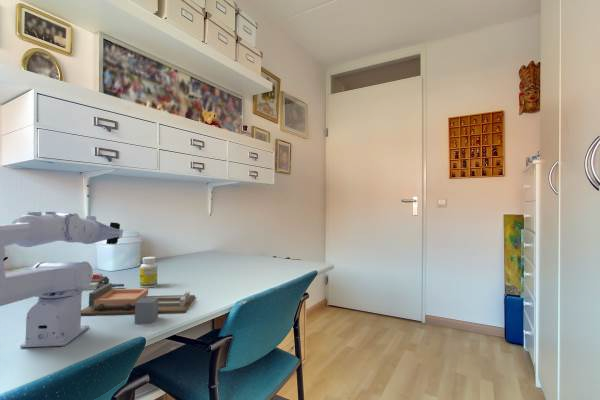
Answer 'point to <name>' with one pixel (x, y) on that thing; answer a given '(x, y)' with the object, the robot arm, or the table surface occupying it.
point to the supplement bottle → (148, 273)
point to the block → (146, 310)
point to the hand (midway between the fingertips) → (103, 233)
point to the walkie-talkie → (100, 282)
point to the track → (164, 302)
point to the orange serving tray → (115, 297)
